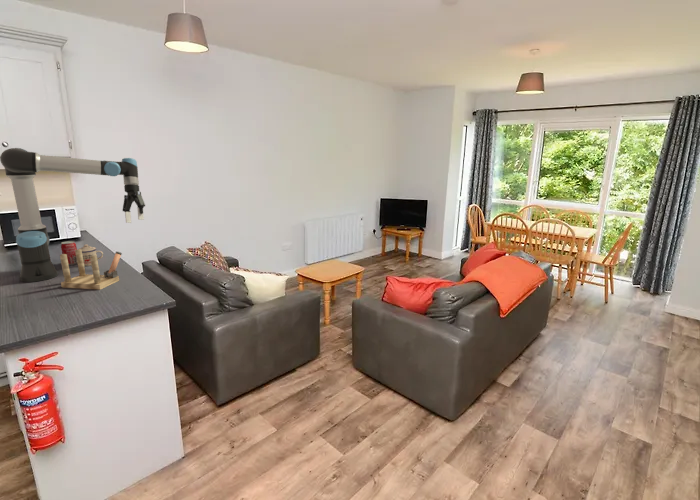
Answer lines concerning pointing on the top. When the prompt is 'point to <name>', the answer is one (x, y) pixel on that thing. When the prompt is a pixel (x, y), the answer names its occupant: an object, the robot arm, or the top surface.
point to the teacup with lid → (89, 254)
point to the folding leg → (114, 263)
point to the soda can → (69, 251)
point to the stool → (86, 279)
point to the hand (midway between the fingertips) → (134, 221)
